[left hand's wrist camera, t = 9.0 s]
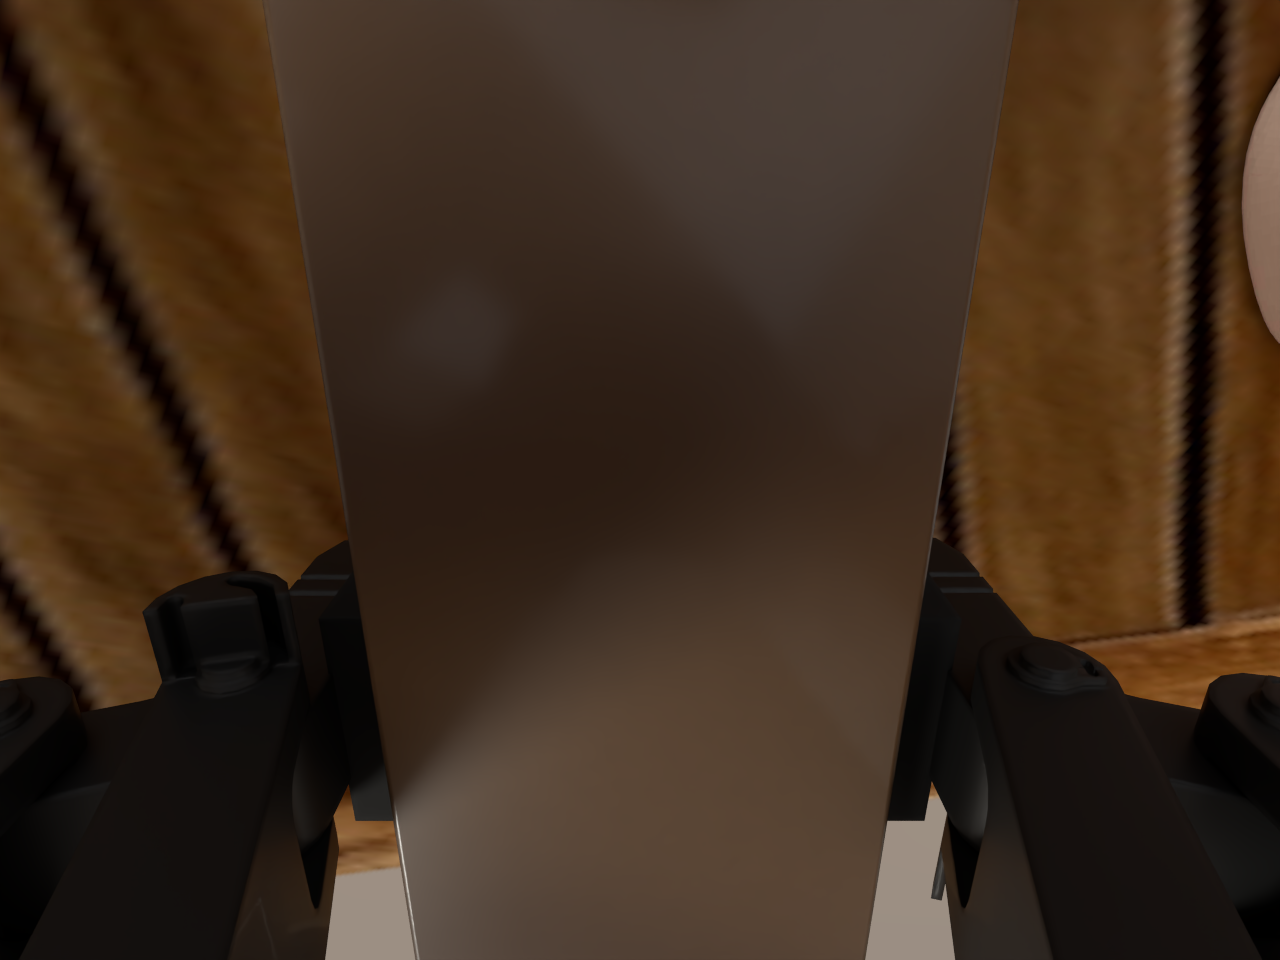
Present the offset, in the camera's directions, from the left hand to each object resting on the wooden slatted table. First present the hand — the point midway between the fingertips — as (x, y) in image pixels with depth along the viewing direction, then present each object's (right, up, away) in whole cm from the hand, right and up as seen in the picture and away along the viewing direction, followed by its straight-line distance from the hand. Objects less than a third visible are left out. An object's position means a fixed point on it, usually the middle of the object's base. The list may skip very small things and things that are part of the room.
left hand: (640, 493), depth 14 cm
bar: (0, +7, -2) cm, 8 cm away
